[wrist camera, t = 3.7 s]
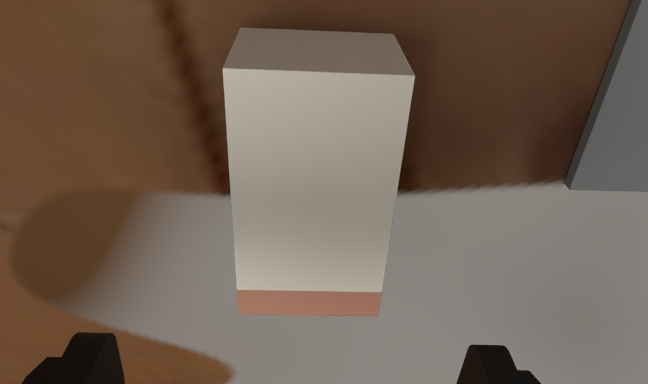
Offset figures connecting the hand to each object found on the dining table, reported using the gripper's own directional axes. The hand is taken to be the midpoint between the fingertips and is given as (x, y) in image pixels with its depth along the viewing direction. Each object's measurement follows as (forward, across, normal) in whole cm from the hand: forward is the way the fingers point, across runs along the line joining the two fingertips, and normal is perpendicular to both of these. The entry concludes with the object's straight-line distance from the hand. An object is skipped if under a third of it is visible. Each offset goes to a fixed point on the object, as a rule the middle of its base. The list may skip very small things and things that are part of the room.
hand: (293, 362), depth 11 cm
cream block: (+9, 0, -1) cm, 9 cm away
